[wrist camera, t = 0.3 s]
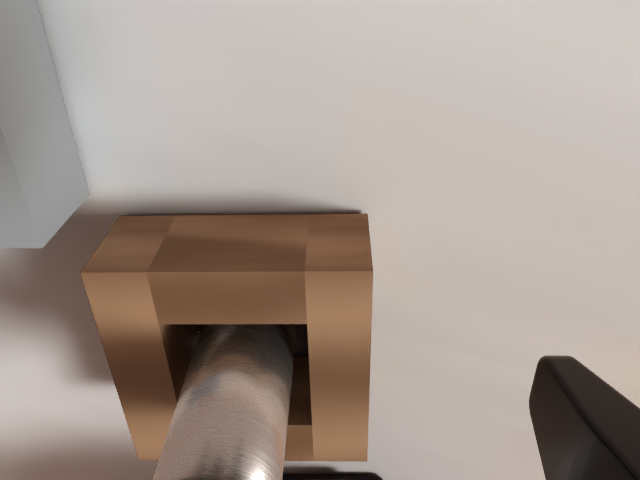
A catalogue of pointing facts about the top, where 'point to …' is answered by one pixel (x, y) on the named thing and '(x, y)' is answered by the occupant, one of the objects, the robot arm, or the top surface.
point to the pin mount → (239, 315)
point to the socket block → (33, 135)
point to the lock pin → (232, 406)
